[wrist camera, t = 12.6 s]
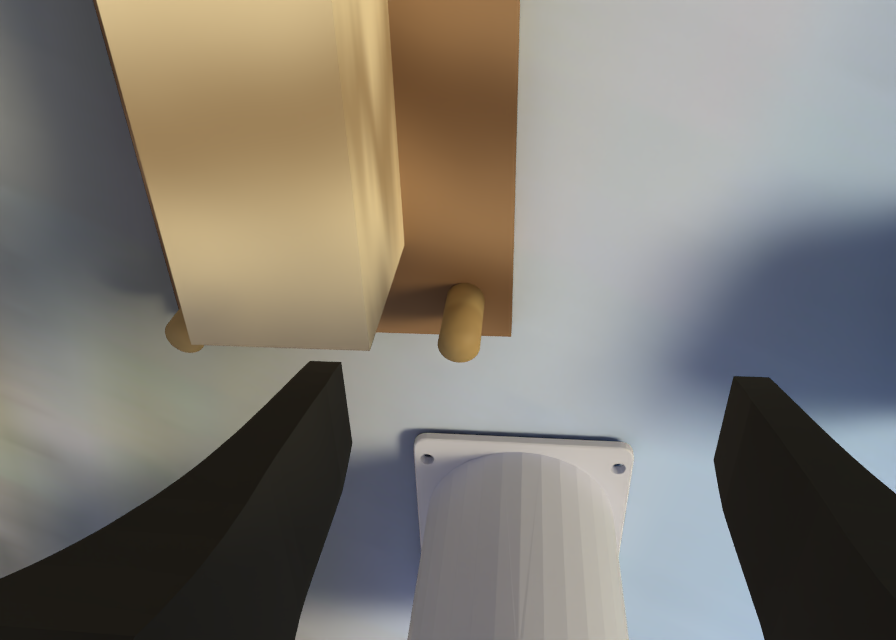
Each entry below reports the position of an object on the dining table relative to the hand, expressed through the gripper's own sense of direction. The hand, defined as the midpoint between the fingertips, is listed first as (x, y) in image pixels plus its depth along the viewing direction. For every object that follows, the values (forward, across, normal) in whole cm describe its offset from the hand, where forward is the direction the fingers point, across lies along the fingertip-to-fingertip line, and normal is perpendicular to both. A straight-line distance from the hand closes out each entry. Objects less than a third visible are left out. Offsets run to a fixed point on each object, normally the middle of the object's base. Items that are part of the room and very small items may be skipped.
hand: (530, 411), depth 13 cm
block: (+9, +6, -4) cm, 11 cm away
